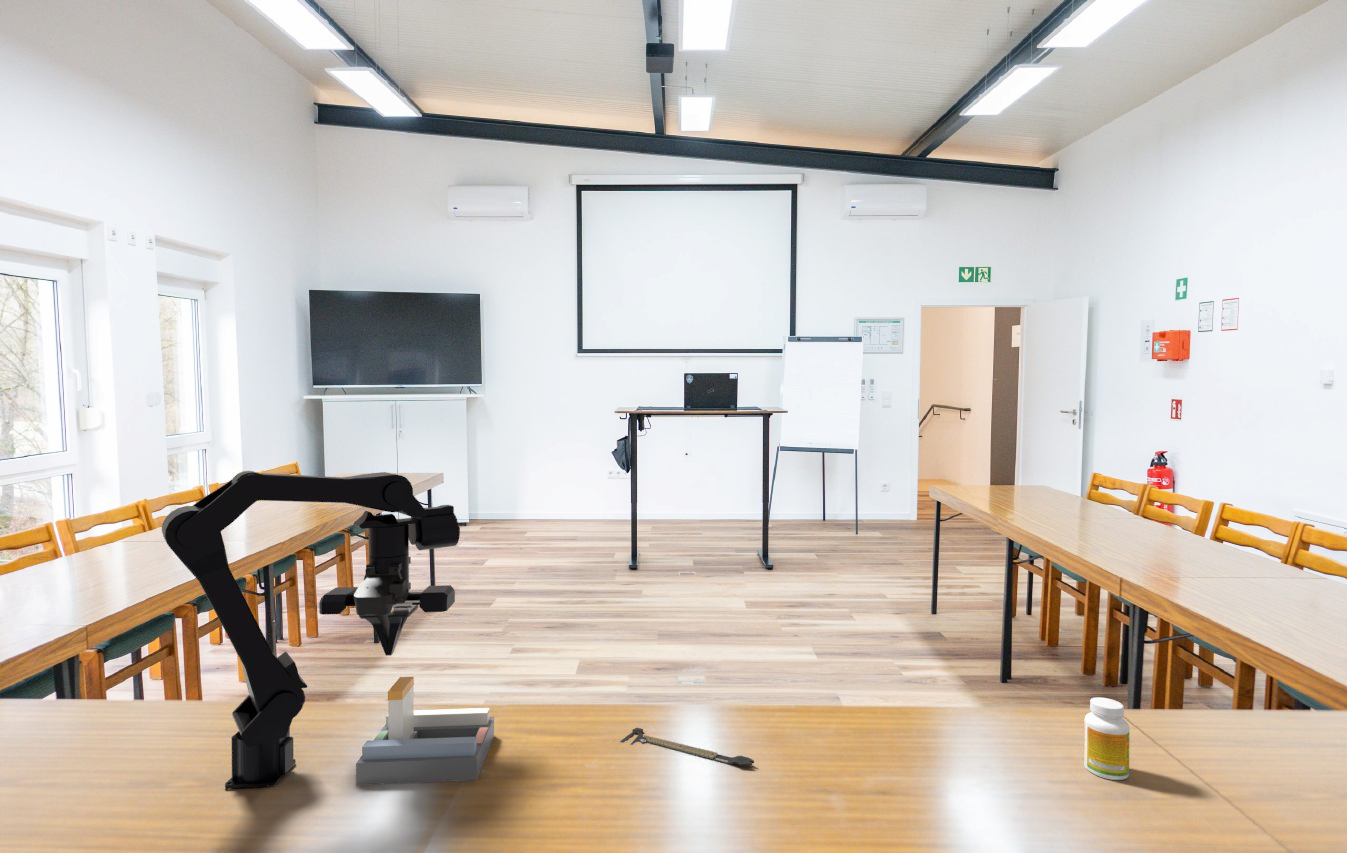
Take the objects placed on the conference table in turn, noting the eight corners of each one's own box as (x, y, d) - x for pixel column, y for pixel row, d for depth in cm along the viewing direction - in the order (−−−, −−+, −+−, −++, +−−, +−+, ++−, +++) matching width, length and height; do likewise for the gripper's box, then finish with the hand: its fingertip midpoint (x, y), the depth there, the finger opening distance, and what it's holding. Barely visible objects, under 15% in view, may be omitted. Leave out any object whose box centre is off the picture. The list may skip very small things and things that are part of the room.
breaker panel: (356, 784, 92) (355, 749, 92) (388, 739, 105) (388, 708, 105) (476, 780, 93) (476, 745, 93) (494, 735, 106) (494, 705, 106)
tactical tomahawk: (610, 754, 103) (610, 747, 103) (635, 732, 108) (635, 726, 108) (736, 790, 92) (736, 782, 92) (756, 764, 98) (756, 757, 97)
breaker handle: (384, 757, 96) (384, 691, 96) (396, 739, 101) (396, 676, 101) (406, 756, 96) (406, 690, 96) (417, 738, 101) (417, 676, 101)
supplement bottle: (1136, 783, 93) (1137, 712, 92) (1092, 778, 94) (1093, 708, 94) (1118, 763, 98) (1119, 696, 98) (1077, 759, 99) (1078, 693, 99)
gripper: (301, 566, 96) (302, 676, 96) (437, 564, 98) (437, 672, 98) (334, 551, 107) (335, 649, 107) (455, 549, 109) (455, 646, 109)
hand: (389, 654), depth 105 cm, fingers closed
